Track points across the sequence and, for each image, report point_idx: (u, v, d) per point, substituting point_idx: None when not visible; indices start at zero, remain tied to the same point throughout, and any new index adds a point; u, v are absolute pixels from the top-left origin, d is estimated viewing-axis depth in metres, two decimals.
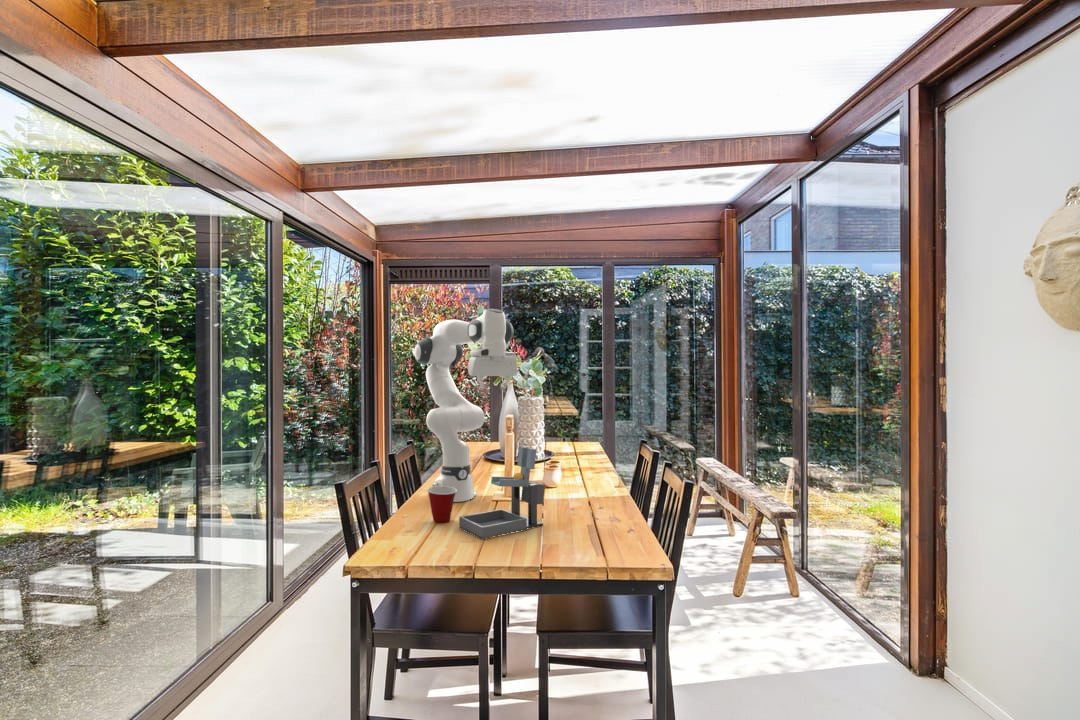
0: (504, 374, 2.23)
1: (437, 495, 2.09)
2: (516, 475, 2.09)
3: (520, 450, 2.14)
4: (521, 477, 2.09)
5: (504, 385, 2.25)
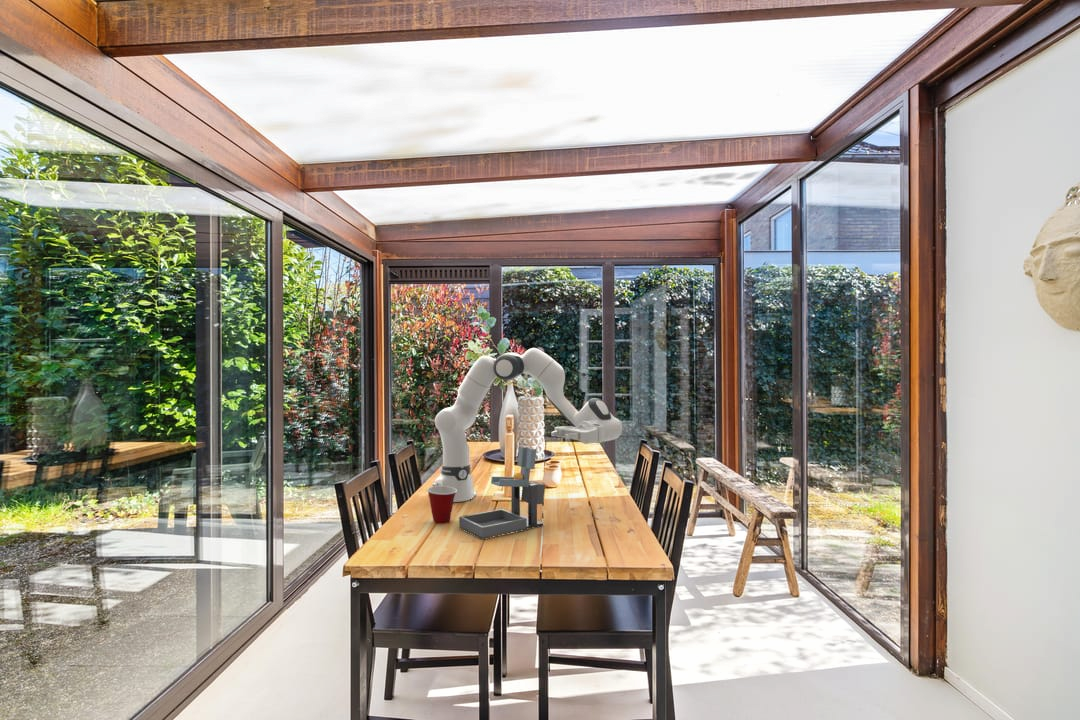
0: (564, 437, 2.27)
1: (437, 495, 2.09)
2: (516, 475, 2.09)
3: (520, 450, 2.14)
4: (521, 477, 2.09)
5: None
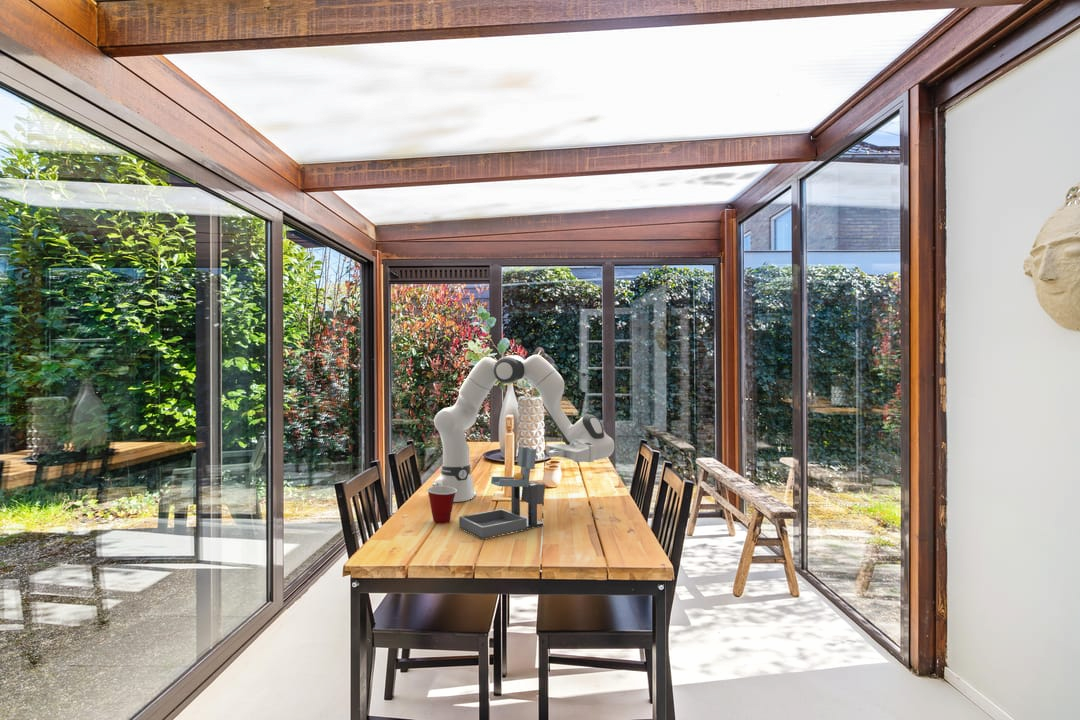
0: None
1: (437, 495, 2.09)
2: (516, 475, 2.09)
3: (520, 450, 2.14)
4: (521, 477, 2.09)
5: (551, 455, 2.19)
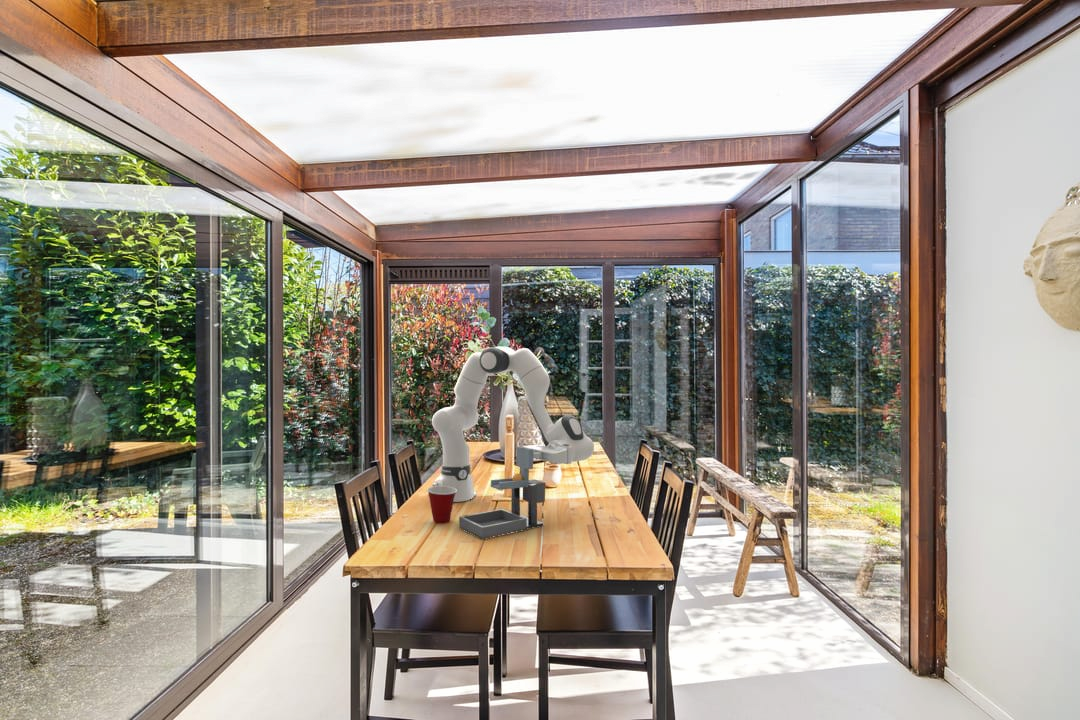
0: None
1: (437, 495, 2.09)
2: (515, 476, 2.09)
3: (517, 450, 2.14)
4: (520, 478, 2.09)
5: None
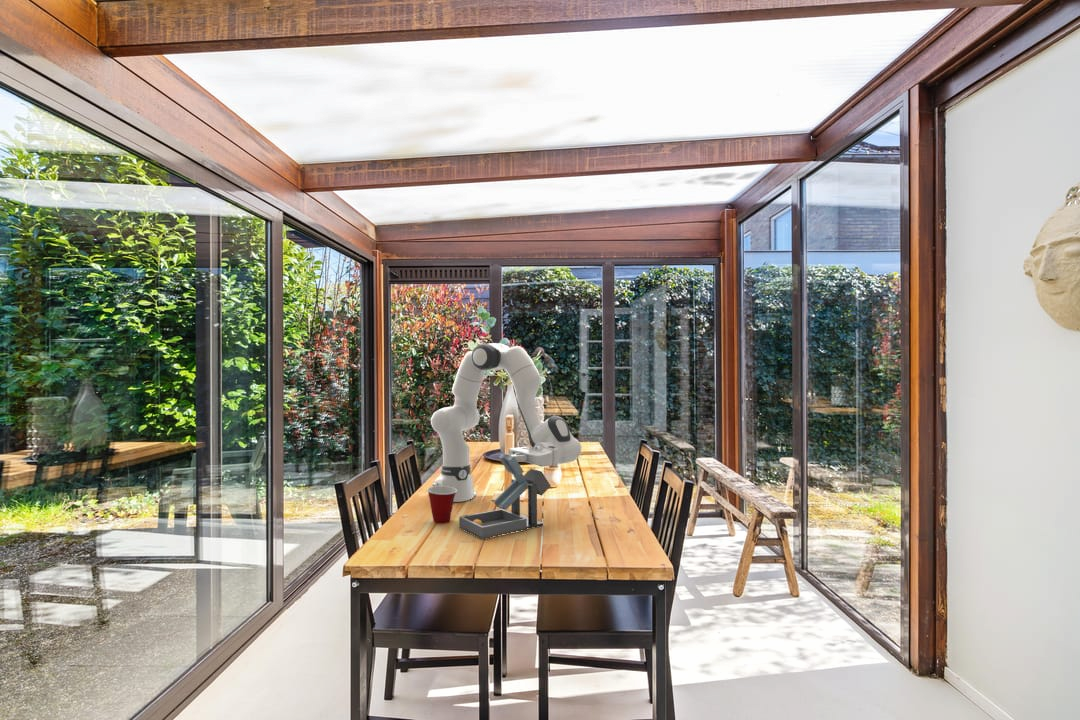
0: None
1: (437, 495, 2.09)
2: None
3: (501, 460, 2.10)
4: None
5: None
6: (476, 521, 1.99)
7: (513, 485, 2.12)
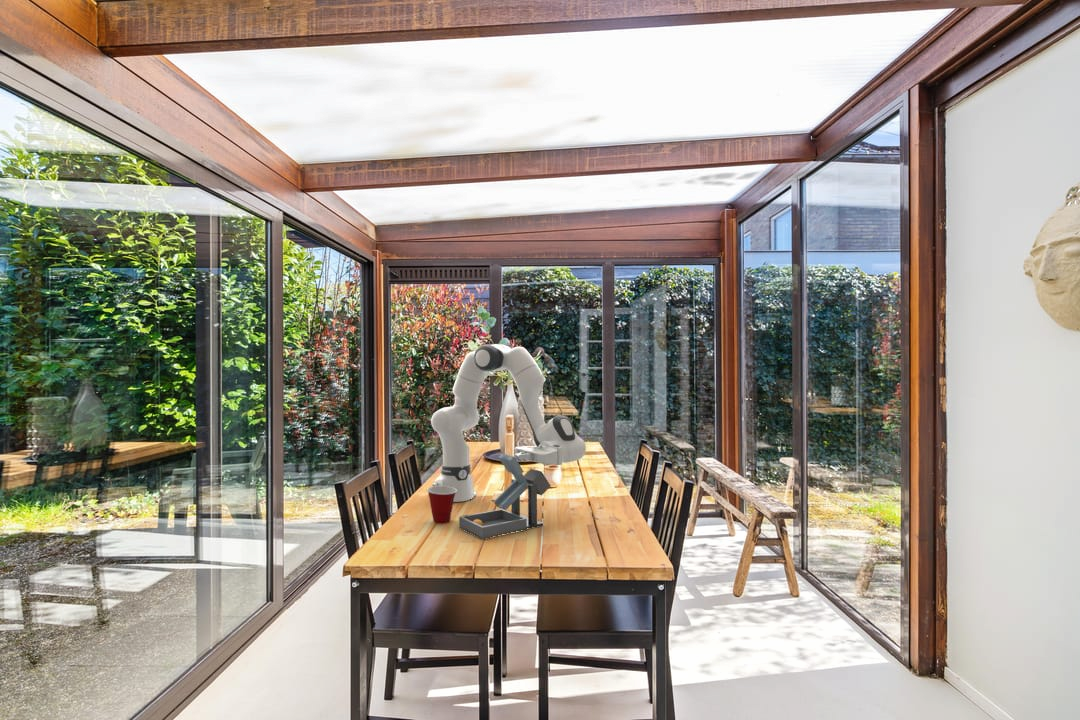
0: None
1: (437, 495, 2.09)
2: (481, 521, 2.01)
3: (501, 460, 2.10)
4: None
5: (518, 458, 2.11)
6: (476, 521, 2.00)
7: (513, 485, 2.12)
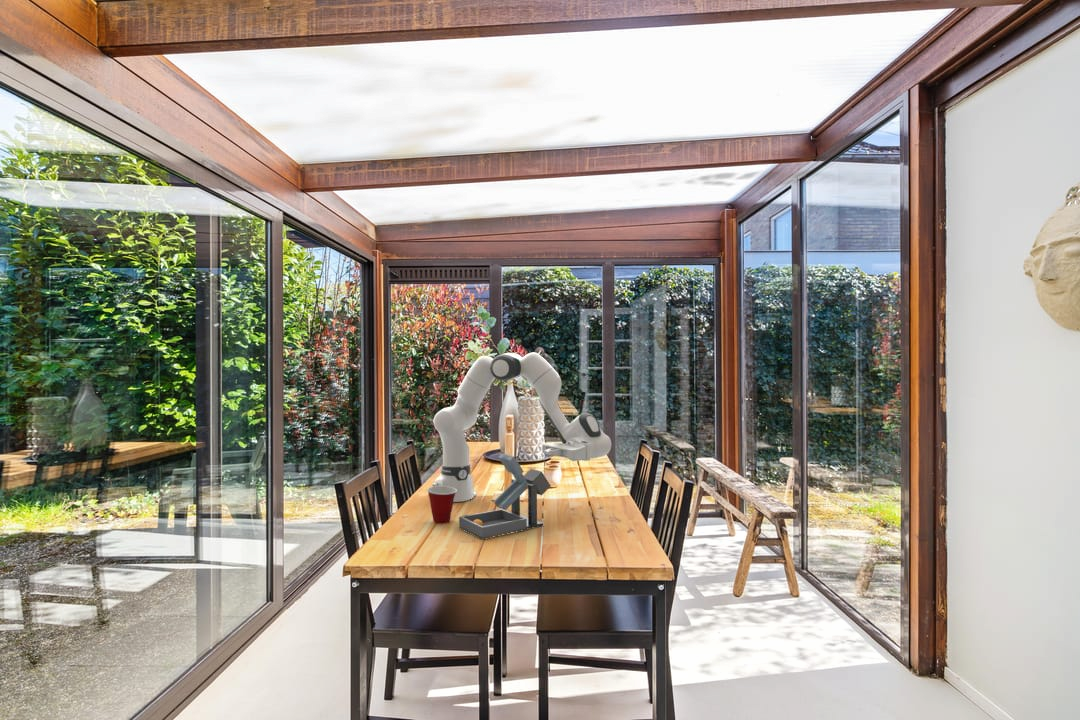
0: None
1: (437, 495, 2.09)
2: (481, 521, 2.01)
3: (501, 460, 2.10)
4: None
5: (547, 454, 2.18)
6: (477, 521, 2.00)
7: (513, 485, 2.12)
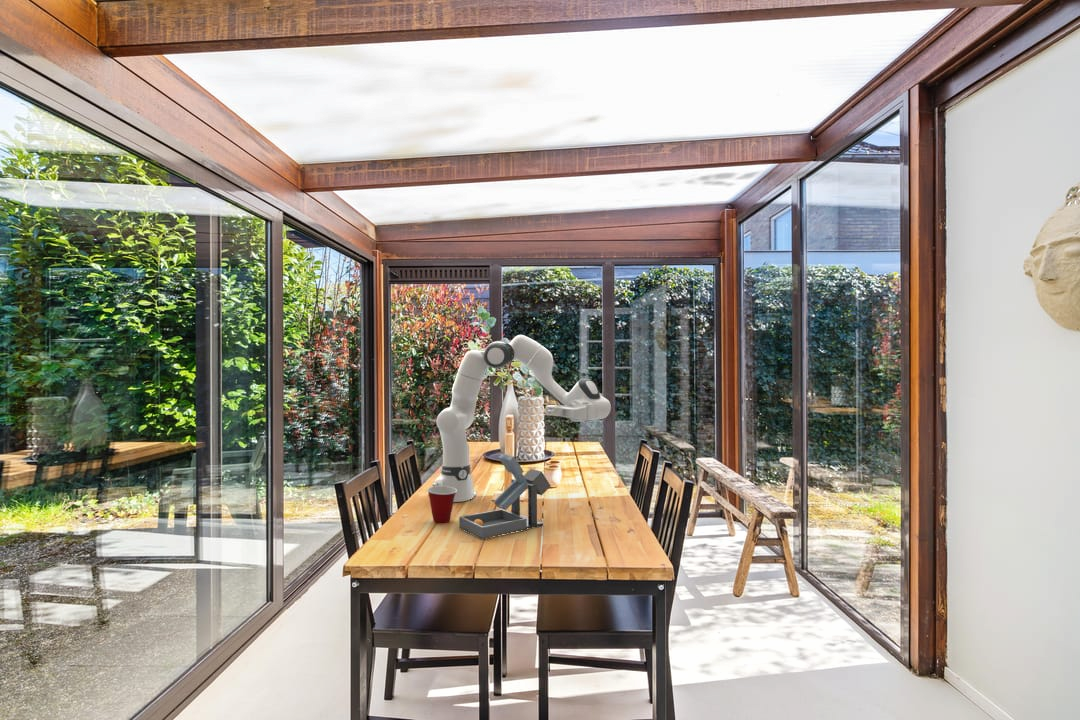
0: (554, 415, 2.35)
1: (437, 495, 2.09)
2: None
3: (501, 460, 2.10)
4: None
5: (550, 414, 2.30)
6: (478, 520, 2.00)
7: (513, 485, 2.12)
